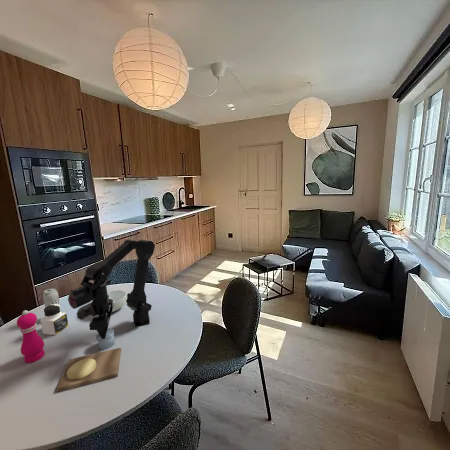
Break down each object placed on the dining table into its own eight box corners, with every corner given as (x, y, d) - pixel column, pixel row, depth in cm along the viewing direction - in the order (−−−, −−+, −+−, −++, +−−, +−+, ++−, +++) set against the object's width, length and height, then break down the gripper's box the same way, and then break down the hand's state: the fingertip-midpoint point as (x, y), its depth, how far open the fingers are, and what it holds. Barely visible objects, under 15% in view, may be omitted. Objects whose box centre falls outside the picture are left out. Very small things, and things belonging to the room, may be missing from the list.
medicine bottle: (56, 335, 110) (51, 310, 107) (42, 334, 111) (37, 309, 109) (69, 326, 116) (64, 302, 114) (56, 324, 118) (51, 301, 116)
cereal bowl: (134, 305, 133) (133, 293, 132) (105, 321, 119) (103, 308, 118) (115, 298, 142) (113, 287, 141) (86, 312, 128) (84, 299, 127)
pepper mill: (31, 351, 100) (21, 306, 96) (50, 350, 100) (41, 304, 96) (18, 365, 93) (7, 316, 89) (38, 363, 93) (28, 314, 89)
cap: (116, 338, 106) (114, 327, 105) (114, 347, 100) (112, 336, 99) (99, 341, 104) (98, 331, 103) (97, 351, 98) (95, 340, 97)
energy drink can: (53, 322, 120) (48, 293, 117) (44, 320, 122) (39, 292, 119) (64, 315, 126) (59, 288, 123) (56, 314, 128) (51, 287, 125)
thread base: (121, 350, 98) (120, 345, 98) (117, 376, 85) (116, 370, 85) (69, 362, 93) (68, 356, 93) (57, 391, 80) (56, 386, 79)
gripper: (82, 290, 104) (88, 323, 108) (70, 312, 87) (77, 351, 90) (111, 286, 108) (115, 318, 111) (104, 306, 90) (110, 344, 93)
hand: (105, 331), depth 101 cm, fingers open, 9 cm apart
